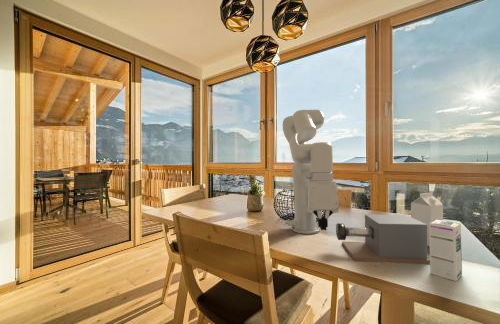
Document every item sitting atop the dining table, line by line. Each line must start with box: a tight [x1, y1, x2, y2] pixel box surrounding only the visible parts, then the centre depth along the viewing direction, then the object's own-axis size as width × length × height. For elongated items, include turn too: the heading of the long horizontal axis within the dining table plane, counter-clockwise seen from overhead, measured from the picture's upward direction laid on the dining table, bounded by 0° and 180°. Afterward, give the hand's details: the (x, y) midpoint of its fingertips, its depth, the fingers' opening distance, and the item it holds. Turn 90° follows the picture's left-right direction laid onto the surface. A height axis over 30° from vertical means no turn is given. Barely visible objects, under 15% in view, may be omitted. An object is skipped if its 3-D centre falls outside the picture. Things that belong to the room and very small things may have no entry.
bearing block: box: [341, 213, 430, 265], centre depth 77 cm, size 23×14×12 cm, turn 82°
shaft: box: [335, 222, 374, 241], centre depth 78 cm, size 18×6×6 cm, turn 82°
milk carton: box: [410, 192, 444, 247], centre depth 85 cm, size 7×7×19 cm
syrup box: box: [429, 219, 463, 282], centre depth 62 cm, size 6×6×14 cm
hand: (323, 229), depth 79 cm, fingers closed
